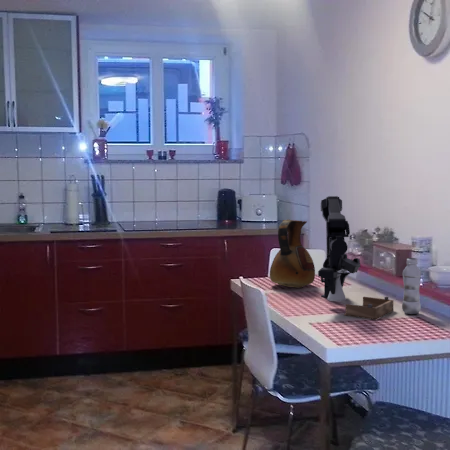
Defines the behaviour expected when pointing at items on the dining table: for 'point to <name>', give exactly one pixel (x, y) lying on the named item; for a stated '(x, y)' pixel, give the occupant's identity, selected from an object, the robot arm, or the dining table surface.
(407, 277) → the plastic bottle
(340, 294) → the flask
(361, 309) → the holder
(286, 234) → the ceramic pitcher
